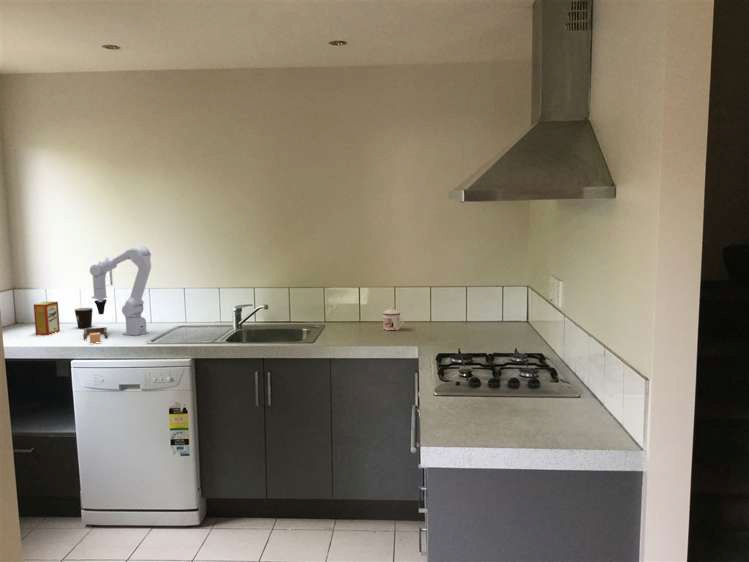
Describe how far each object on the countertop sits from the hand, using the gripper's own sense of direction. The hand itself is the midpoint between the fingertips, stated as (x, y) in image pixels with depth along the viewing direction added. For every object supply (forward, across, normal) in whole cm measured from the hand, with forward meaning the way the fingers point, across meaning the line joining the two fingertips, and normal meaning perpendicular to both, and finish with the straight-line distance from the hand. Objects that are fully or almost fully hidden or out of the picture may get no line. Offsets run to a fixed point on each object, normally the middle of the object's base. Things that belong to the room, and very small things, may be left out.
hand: (101, 314), depth 309 cm
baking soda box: (+10, -10, -25) cm, 29 cm away
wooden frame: (+9, +10, -3) cm, 14 cm away
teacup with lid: (+10, +62, +137) cm, 150 cm away
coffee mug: (+10, -16, -8) cm, 21 cm away
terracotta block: (+10, +25, -3) cm, 27 cm away
